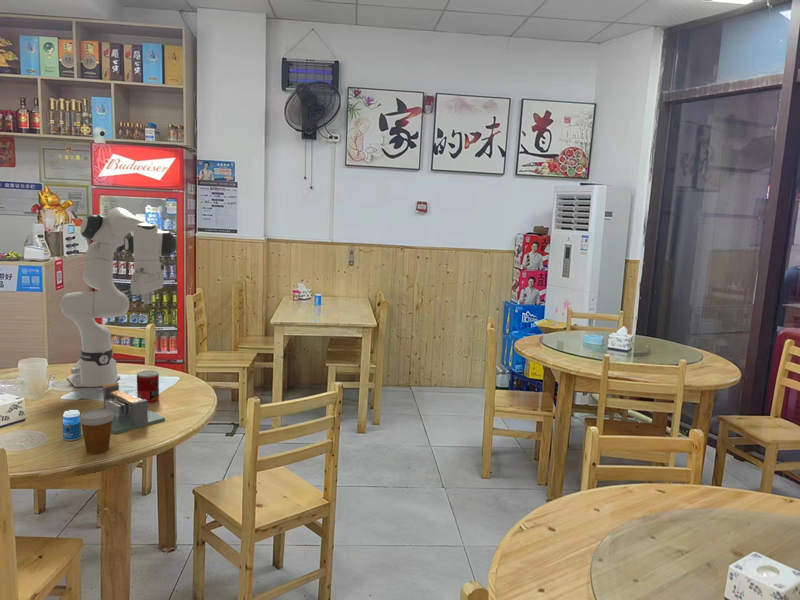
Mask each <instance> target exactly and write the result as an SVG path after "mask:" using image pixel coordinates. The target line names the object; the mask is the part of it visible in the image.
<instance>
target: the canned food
mask: <svg viewBox="0 0 800 600" xmlns="http://www.w3.org/2000/svg"><path fill="white" fill-rule="evenodd" d="M159 376H160V375H159V372H158V371H156V370H142V371H139V372H136V389H137V392H136V397H137V398H140V399H142V400H144V399H145V400H147V404H151V403H152V404H153V403H156V402H158V401H159V398H160V389H159V388H160V382H159V379H160V377H159Z"/></svg>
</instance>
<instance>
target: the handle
mask: <svg viewBox="0 0 800 600" xmlns="http://www.w3.org/2000/svg"><path fill="white" fill-rule="evenodd" d="M109 393H110V394H111V395H113V396H115V397H117V398H119V399H121V400H123V401H125V402H127V403H129V404H131V402H135V401H139V400H137V399H135V398H133V397H131V396H129V395H128V394H127V393H125V392H123V391H121V390H120V389H119V390H113V391H109Z"/></svg>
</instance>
